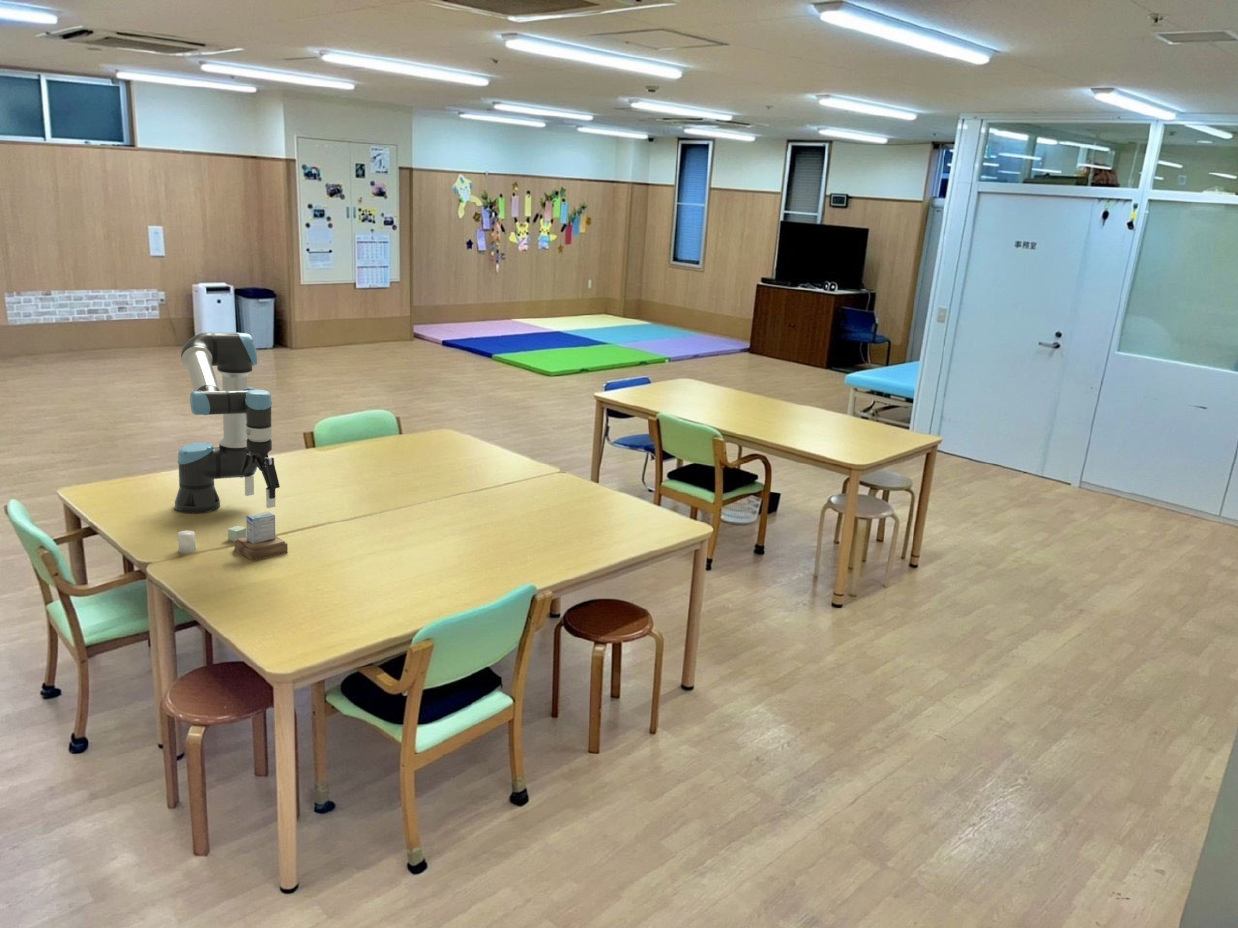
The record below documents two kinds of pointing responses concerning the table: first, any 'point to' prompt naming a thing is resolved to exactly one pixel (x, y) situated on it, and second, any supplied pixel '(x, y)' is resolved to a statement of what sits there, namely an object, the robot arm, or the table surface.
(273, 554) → the podium
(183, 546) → the white rounded capsule
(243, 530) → the sage block
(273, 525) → the medicine box
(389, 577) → the table surface
